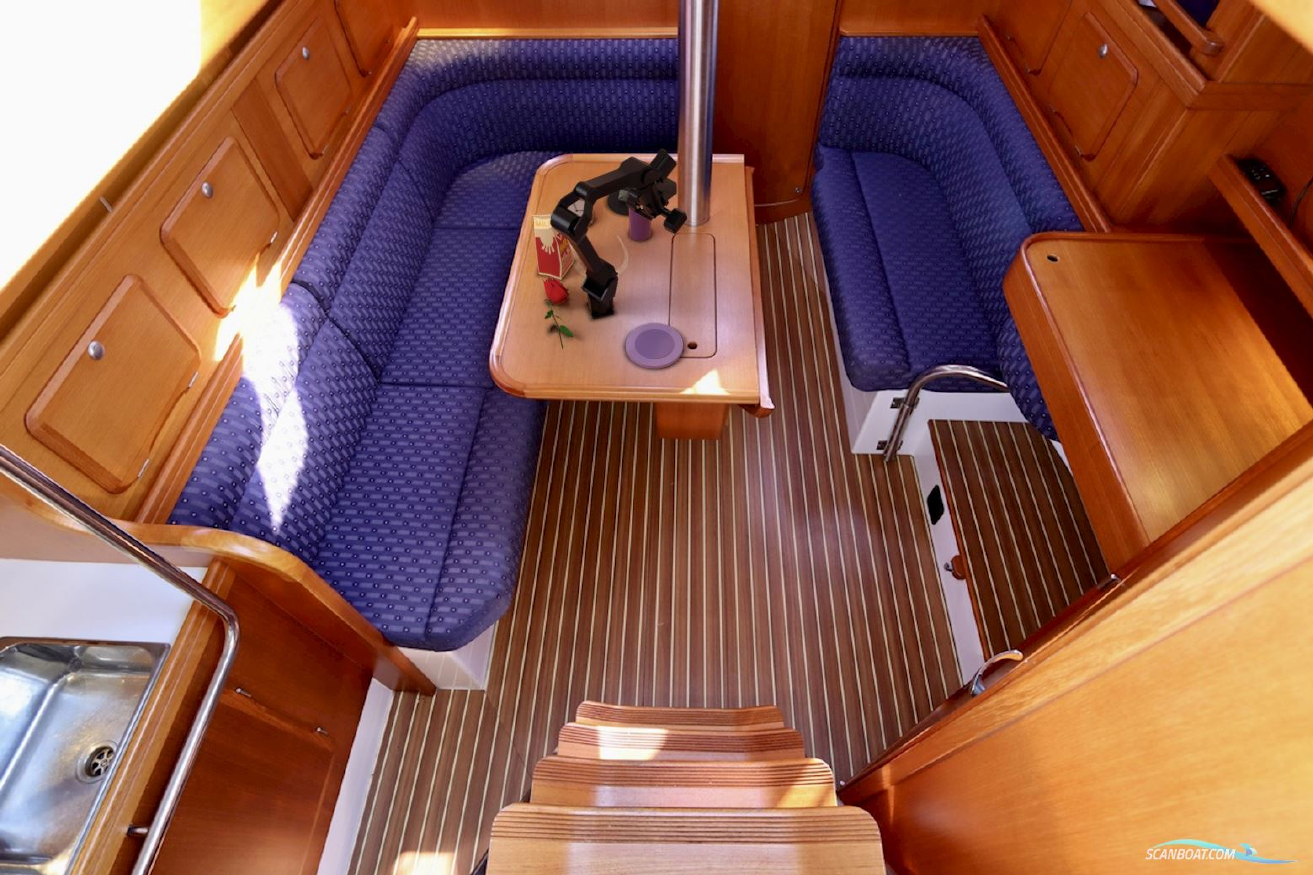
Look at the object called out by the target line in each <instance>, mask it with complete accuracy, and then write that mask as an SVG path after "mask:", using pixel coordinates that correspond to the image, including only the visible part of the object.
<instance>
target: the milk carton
mask: <svg viewBox="0 0 1313 875" xmlns="http://www.w3.org/2000/svg"><path fill="white" fill-rule="evenodd" d="M551 214H552V213H549V214H543V215H542V214H530V216H531V217H532V218H533V228H534V230H533V231H534V245H535V253H536V255H535V256H536V263H537V271H538V275H541V276H547V277H550V278H553V277H554V279H556V280H559V281H562V279H563V278H564V277H565V275H566V274H567V273H568V271H569V270H570V269H571V267H572V265H573V264H574V262H575V259H574V255H573V251H572V248H571V244H570V242H569V241H568V240H567V239H566V238H565V237H564V236H562V235H561V234H560V233H558V232H557V231H556V230H555V229H554V228H553V227H552V226H551V224H550V220H551Z"/></svg>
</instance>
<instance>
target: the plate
mask: <svg viewBox="0 0 1313 875" xmlns="http://www.w3.org/2000/svg"><path fill="white" fill-rule="evenodd" d="M625 351H626V354H627V357H628V358H629V359H630V360H631V361H632V362H633V363H634V364H635V365H637V366H640V367H642V368H644V369H651V370H652V369H653V370H657V369H663V368H666V367H670V366H671V365H673V364H674V363H676V362H677V361H678V360H679V359H680V357H681V356H682V354H683V352H684V341H683V338H682V336H681V333H679V331H677V330H676V329H675V328H673V327H672V326H670V325H667V324H665V323H660V322H649V323H645V324H640V325H639V326H636V328H634V329H633V330H632V331H630V333H629V334H628V336H627V337H626V340H625Z"/></svg>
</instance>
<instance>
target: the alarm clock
mask: <svg viewBox="0 0 1313 875" xmlns="http://www.w3.org/2000/svg"><path fill="white" fill-rule="evenodd" d="M566 195H567V194H565V195H564V196H566ZM559 201H560V199H559V200H558V201H557V203H558V202H559ZM584 202H585V201H584V200H582V199H580V200H578V201H577V202H575V203H574V204H572V205H571V206H569V207H568V209H569V210H571V211H572V212H574V213H576V214H577V215H579V216H582V214H583V210H584ZM594 220H595V210H594V207H593V213H592V220H591V222H590V223H589V225H588V226H587V228H589V227H590V226H591V225H592V224H593V223H594Z"/></svg>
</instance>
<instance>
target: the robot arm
mask: <svg viewBox="0 0 1313 875" xmlns="http://www.w3.org/2000/svg"><path fill="white" fill-rule="evenodd" d="M677 165H678V163H677V161H676V160H675V159H674V158H673V157H672V156H671V155H670V154H669V153H668V151H667V150H666V149H663V148H662V147H661V148H660V149H659V151H658V152H657V154H656V155H655V156H654V157H653V159H652V160H651V162H650V163H648V162H646V161H643V160H641V159H639V158H638V157H636V156H629V157H627V158H626V159H624V160H623V161H621V162H620V164H619V166H618V168H616V169H614V170H611V171H608V172H606V173H603V174H601V175H598V176H595V177H593V178H590V179H588V180H584V181H583V180H580V181H578V182H577V183H576V184H575V185H574V187H573V189H572V190H571V191H570V192H568V193H567V194H565V195H566V196H565V195H563V196H562V197H561V198H560V199H559V200H560V201H559V200H558V201H559V202H558V201H557V204H556V206H555V207H554V209H553V211H551V213H550V214H551V220H550V224H551V226H552V227H553V228H554V229H555V230H556V231H557V232H558V233H560V234H561V235H562V236H564V237H565V238H566V239H567V240H568V242H569V245H570V246H571V247H572V248H573V250H574V251H575V253H576V254H577V256H578V258H579V259H580V260H581V262H582V264H583V265H584V267H585V268H586V270H585V277H584V279H583V282H582V284H581V286H580V289H581V290H582V291H583V292H584V293H586V296H587V303H586V306H587V308H588V310H589V313H590V316H591V319H593V320H596V319H600V318H604V317H608V316H612V315H614V314H615V311H614V307H615V306H614V298H615V297H616V293H617V290H618V285H619V276H618V275H619V272H617V271H616V268H615V266H614V265H613V264H611V263H610V262H608V261H606V259H603V258H602V257H601V256H600V255H599V254H598V252H597V250H596V249H595V247H594V245H593V244H592V241H590V239H589V237H588V236H587V234H588V232H589V229H588V228H589V226H590V225H589V223H590V222H591V220H592V213H593V208H594V206H595V204H596V202H597V201H598V200H601V199H603V198H605V197H607V196H608V197H609V195H610V194H612V193H615V192H617V191H620V190H622V189H625V188H630V190H629V191H628V195H629V196H628V197H627V199H626V205H627V207H628V208H630V209H631V210H632V211H634V212H636V213H638V214H639V215H641V216H643V217H645V218H647V219H649V220H650V221H651V222H652V221H653V220H656V219H657V218H658V217H659V216H661V217H663V218H665V219H664V220H663V224H662V226H663V228H664V230H665V231H667V232H669V233H671V234H673V235H676V234H678V232H679V231H680V229H681V228H682V227H683V226H684V225H685V223H686V222H687V220H688V215H687V213H686V212H685V211H684V210H682V209H680V208H678V207H674V208H673V209H671V210H670V209H669V208H667V206H669V204H670V201H669V200H670V199H672V198H674V196H676V195H677V193H678V185H677V181H674V180H672V179H671V178H669V176H670V175H671V173H672V172H673V171H674V169H676V167H677ZM580 199H582V200H584V201H585V202H584V210H583V214H582V216H579V215H577V214H576V213H574V212H572V211H571V210H569V209H568V207H569V206H571V205H572V204H574V203H575V202H577V201H578V200H580ZM588 225H589V226H588ZM587 226H588V227H587Z"/></svg>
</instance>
